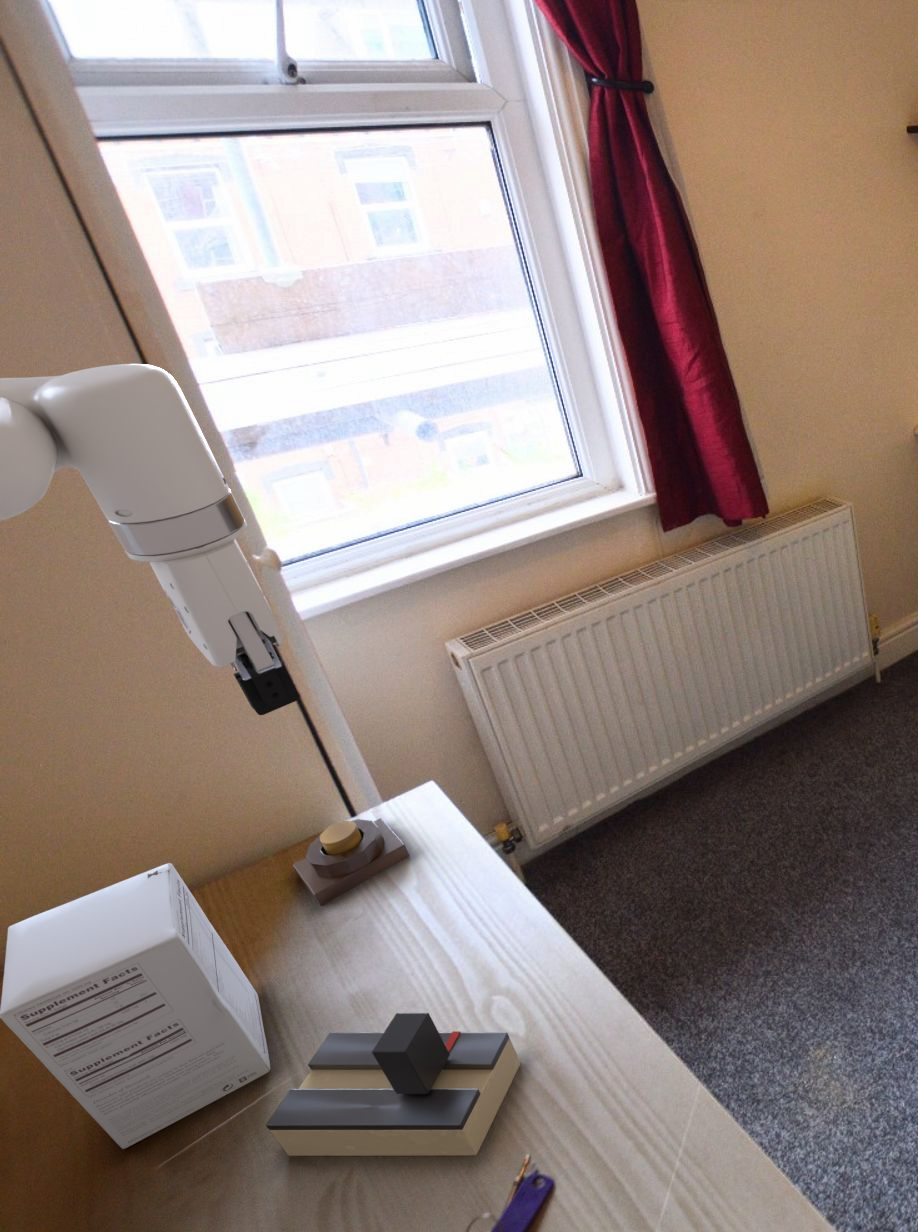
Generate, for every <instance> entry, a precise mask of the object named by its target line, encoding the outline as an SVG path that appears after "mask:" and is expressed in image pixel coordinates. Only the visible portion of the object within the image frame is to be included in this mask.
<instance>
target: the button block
mask: <svg viewBox="0 0 918 1232" xmlns="http://www.w3.org/2000/svg"><path fill="white" fill-rule="evenodd" d="M351 821H352V822H354V823H355V824H356V826H357V828H358V830H359V832H360V834H361V836H362V840H361V842H360V843H359V844H358V845H357V846H356V847H355V848H353V849H351V850H349V851H347V852H345V853H342V854H338V855H334V856H331V855H328V854H327V853H326V851H325V849H324V847H323V845H322V843H321V842H320V835H319V836H318V837H316V838H315V839H314V840H313V841H312V842H311V843H310V844H309V845H308V848H307V851H306V854H305V857H303V858H302V859H300V860H297V861H296V862H293V863H292V867H293V869H294V870H295V872H296V874H297V876H298V877H299V880H301V881H302V883H303V885H304V886H305V887H306V888H307V890H308V891H309V893H310V894H311V895H312V897H313V898H314V899H315V900H316V902H317V903H318V905H319V906H320V907H323V906H324V905H326V904H327V903H329V902H331V901H333V900H334V899H336V898H338V897H340V896H342V895H343V894H345V893H347V892H348V891H351V890H352V889H354V888H356V887H358V886H359V885H361V884H363V883H365V882H367V881H368V880H370V879H372V878H374V877H375V876H377V875H378V874H381V873H383V872H384V871H386V870H387V869H389V868H391V867H393V866H395V865H396V864H398V863H400V862H401V861H404V860H406V859H407V858H410V856H411V855H410V853H409V851H408V848H407V846H406V844H405V843H404V842H403V841H402V840H401V838H400V837H399V836H398V835H397V833H395V832H394V830H393V829H392V828H391V827H390V826H389V825H388V824H387V823H386V822H385V820H384V819H383V818H382V817H379V818H377V819H375V820H369V819H359V818H358V819H354V820H351Z"/></svg>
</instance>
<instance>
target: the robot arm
mask: <svg viewBox="0 0 918 1232" xmlns="http://www.w3.org/2000/svg"><path fill="white" fill-rule="evenodd" d="M63 468H71V469H74V470H76V471H78V473H79V474H80V477H82V479H83V481H84V483H85V484H86V486H87V488H88V489H89V491H90V493H91V495H92V496H93V499H94V500H95V501H96V503H97V505H98V507H99V508H100V510H101V512H102V513H103V515H104V517H105V518H106V521H107V523H108V524H109V526H110V528H111V530H112V532H113V534H114V535H115V536H116V538H117V540H118V542H119V543H120V545H121V547H122V549H123V550H124V551H125V554H126V555H127V557H128V558H129V559H131V560H133V561H136V562H141V563H149V564H150V567H151V569H152V570H153V571H152V572H153V573H154V575H155V576H156V579H157V580H158V582H159V585H160V586H161V588H162V590H163V592H164V593H165V596H166V597H167V599H168V601H169V602H170V604H171V606H172V608H173V610H174V611H175V614H176V615H177V617H178V619H179V621H180V623H181V625H182V628H183V629H184V631H185V633H186V635H187V636H188V638H189V639H190V640H191V642H192V643H193V644H194V645H195V646H196V648H197V649H198V650H199V651H200V653H201V654H202V655H203V656H204V657H205V658H206V660H207V661H208V662H209V663H210V664H211V665H212V666H213V667H217V668H221V669H224V668H226V667H228V666H227V665H231V667H232V668H233V670H234V671H235V673H233V676H234V678H235V679H236V681H237V683H238V685H239V687H240V689H241V691H242V692H243V694H244V696H245V698H246V699H247V701H248V703H249V705H250V707H251V708H252V709H253V710H254V711H255V713H256V714H257V715H258V716H264V715H267V714H269V713H272V712H274V711H276V710H279V709H281V708H283V707H286V706H288V705H291V704H293V703H294V702H295V703H296V702H297V701H298V700H299V699H300V698H301V697H300V696H301V695H300V693H299V691H298V690H297V688H296V686H295V684H294V682H293V680H292V678H291V677H290V674H289V672H288V670H287V668H286V667H285V665H284V663H283V662H282V661H281V660H280V658H279V657H278V655H277V653H276V651H275V648H274V646H276V647H280V646H281V645H282V644H283V642H284V639H285V638H284V635H283V632H282V631H281V628H280V626H279V624H278V621H277V619H276V617H275V615H274V613H273V611H272V608H271V606H270V604H269V602H268V600H267V598H266V596H265V594H264V591H263V590H262V588H261V586H260V584H259V582H258V580H257V578H256V576H255V574H254V572H253V570H252V568H251V566H250V564H249V562H248V560H247V558H246V557H245V555H244V553H243V551H242V549H241V547H240V545H239V543H238V540H237V539H239V538H240V537H241V536H242V535H244V533H246V532H247V529H248V523H247V521H246V520H245V517H244V515H243V513H242V510H241V509H240V507H239V505H238V503H237V501H236V498H235V497H234V495H233V493H232V490H231V489H230V488H229V485H228V483H227V480H226V479H225V475H223V472H222V471H221V468H220V467H219V465H218V463H217V461H216V458H215V456H214V454H213V452H212V450H211V448H210V446H209V443H208V441H207V439H206V437H205V436H204V433H203V432H202V429H201V427H200V425H199V423H198V421H197V419H196V418H195V415H194V414H193V411H192V409H191V407H190V405H189V403H188V401H187V398H186V397H185V394H184V393H183V391H182V389H181V387H180V386H179V384H178V382H177V380H175V378H174V377H173V375H171V374H170V373H168V371H166V370H165V369H162V368H161V367H158V366H155V365H152V364H145V363H144V364H142V363H121V364H110V365H101V366H95V367H89V368H85V369H80V370H75V371H71V372H67V373H65V374H61V375H52V376H32V377H0V522H2V521H6V520H8V519H11V518H14V517H16V516H19V515H21V514H23V513H24V512H27V511H28V510H30V509H32V508H33V507H34V506H36V505H37V504H38V503H39V502H40V501H41V500H42V499H43V497H44V496H45V495H46V493H47V492H48V489H49V487H50V485H51V482H52V479H53V476H54V474H55V473H56V472H58V471H60V470H62V469H63Z"/></svg>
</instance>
